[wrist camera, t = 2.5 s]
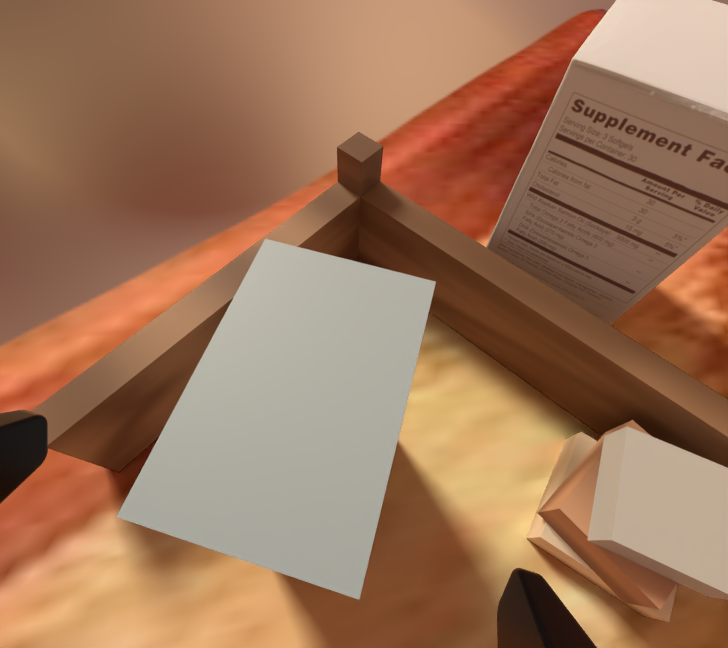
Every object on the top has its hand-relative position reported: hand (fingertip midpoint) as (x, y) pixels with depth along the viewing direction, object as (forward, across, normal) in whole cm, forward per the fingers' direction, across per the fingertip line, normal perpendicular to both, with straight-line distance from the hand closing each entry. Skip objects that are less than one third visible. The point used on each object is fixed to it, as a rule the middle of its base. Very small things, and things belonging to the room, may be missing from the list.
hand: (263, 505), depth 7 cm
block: (+9, 0, +6) cm, 11 cm away
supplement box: (+20, -9, -4) cm, 22 cm away
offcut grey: (+8, -12, +3) cm, 15 cm away
